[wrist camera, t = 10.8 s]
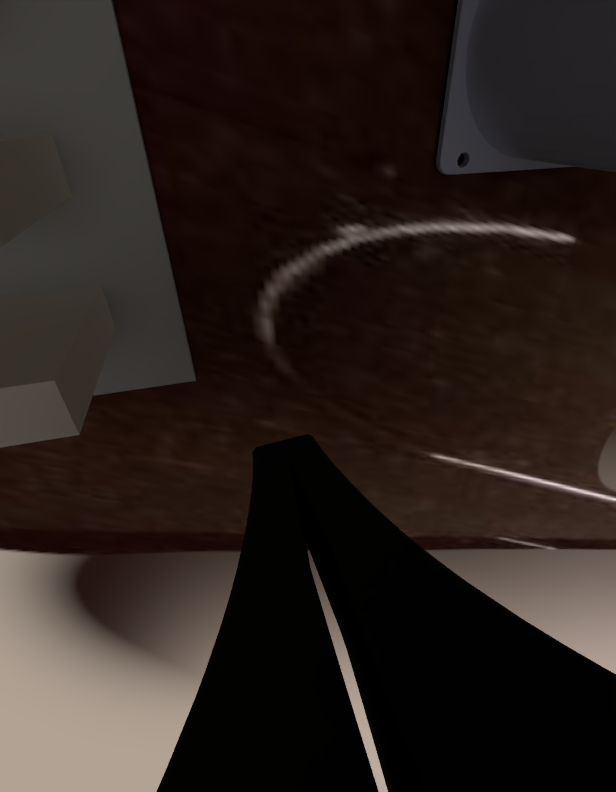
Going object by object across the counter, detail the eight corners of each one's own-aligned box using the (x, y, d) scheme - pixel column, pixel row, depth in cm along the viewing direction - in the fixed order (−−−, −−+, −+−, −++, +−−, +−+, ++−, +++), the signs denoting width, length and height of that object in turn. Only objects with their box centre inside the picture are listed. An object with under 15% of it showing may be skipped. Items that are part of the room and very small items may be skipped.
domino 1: (-30, 299, 15) (-160, 410, 9) (101, 286, 16) (54, 380, 10) (-7, 342, 16) (-111, 465, 10) (115, 328, 17) (79, 435, 11)
